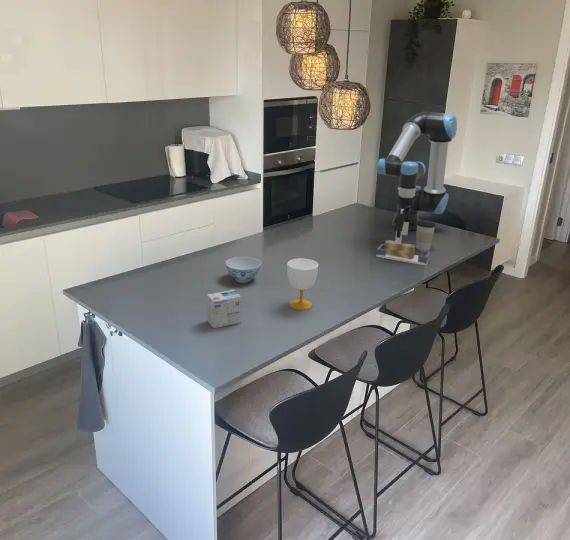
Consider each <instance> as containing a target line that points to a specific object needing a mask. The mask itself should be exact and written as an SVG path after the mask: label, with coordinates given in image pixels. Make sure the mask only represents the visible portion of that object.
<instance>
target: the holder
mask: <svg viewBox="0 0 570 540" xmlns="http://www.w3.org/2000/svg"><path fill="white" fill-rule="evenodd" d="M384 245H385V243H381V244H380V245H379V246H378V247H377V248H376V255H375V257H377V258H381V259H388V260H392V261H396V262H397V261H398V262H404V263H410V264H414V265H420V266H427V265H428V263H429V262H430V259H431V254H432V251H430V250H428V251H422V250H420V251H421V253H420V254H418V255H417V254H414V258H413V259H412V260H411V259H406V258H402V257H397V256H392V255H387V254H386V249H384Z"/></svg>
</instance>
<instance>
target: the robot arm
mask: <svg viewBox="0 0 570 540" xmlns="http://www.w3.org/2000/svg"><path fill="white" fill-rule="evenodd" d="M457 127H458V122H457V118H456V116H455V114H453V113H447V112H436V111H435V112H434V111H421V112H418V113H416V114H414V115H412V116H411V117H410V118H408V120H407V121H406V122H405V123H404V124H403V125H402V129H401V130H402V132H401V133H400V135H399V137H398V139H397V140H396V141H395V143H394V144H393V147H392V149H391V150H390V152H389V154H388V155H387V156H386V158H384V157H383V158H380V159H378V161H377V164H376V172H377V174H379V175H383V176H389V177H395V178H396V177H397V178H399V183H398V184H399V185H398V187H397V190H398V193H397V194H398V196H397V209H396V214H395V216H394V217H393V220H392V222H391V223H392V225H391V226H392V227H393V228H394V231H395V240H394V241H395V243H396V244H401V243H402V240H403V236H408V233H409V231H415V230H416V231H417V222H418V221H420V219H419V214H418V213H419V212H424V213H430V214H434V215H436V214H437V215H442V214H443V213H444V211H445V210H446V207H447V205H448V201H449V198H450V197H449V195H450V194H449V193H447V189H446V188H445V186H444V185H445V183H444V182H445V175H446V167H447V156H448V150H449V149H448V148H449V144H450V142H452V140H453V139H454V138H455V137H456V134H457V130H458V128H457ZM420 136H428V141H429V142H430V151H429V161H428V171H427V170H426V165H425V164H424V163H423V162H421V161H404V159H405V158H406V156H407V154H408V153H409V151H410V149H411V147H412V145H413V144H414V143H415V140H416V139H418V138H419V137H420ZM426 171H427V182H426V186H424V188H423V189H422V186H419V185H417V181H418V180H419V179H421V178H422V177H423V176H424V175H425V173H426Z"/></svg>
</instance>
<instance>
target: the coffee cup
mask: <svg viewBox="0 0 570 540" xmlns="http://www.w3.org/2000/svg"><path fill="white" fill-rule="evenodd" d="M435 227H436V222H434V220H432V219H429V218H427V217H425V218H423V219H419V221H418V222H417V230H416V234H415V235H416V236H415V238H416V239H415V241H416V242H415V245H416V247H415V250H418V251H427V252H428V251H431V246H432V242H433V238H434V233H435Z"/></svg>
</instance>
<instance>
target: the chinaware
mask: <svg viewBox="0 0 570 540" xmlns="http://www.w3.org/2000/svg"><path fill="white" fill-rule="evenodd" d="M261 267H262V261H261V260H260V259H258V258H255V257H252V256H234V257H230V258H228V259H227V260H226V261H225V268H226V271H227V273H228V275H230V276H231V277H232V278H233V279H235V281H236V282H238V283H240V284H241V283H243V284H245V283H249V282H251V281H252V279H254V278H255V277H256V276H257V275H258V273H259V272H260V271H261Z"/></svg>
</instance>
